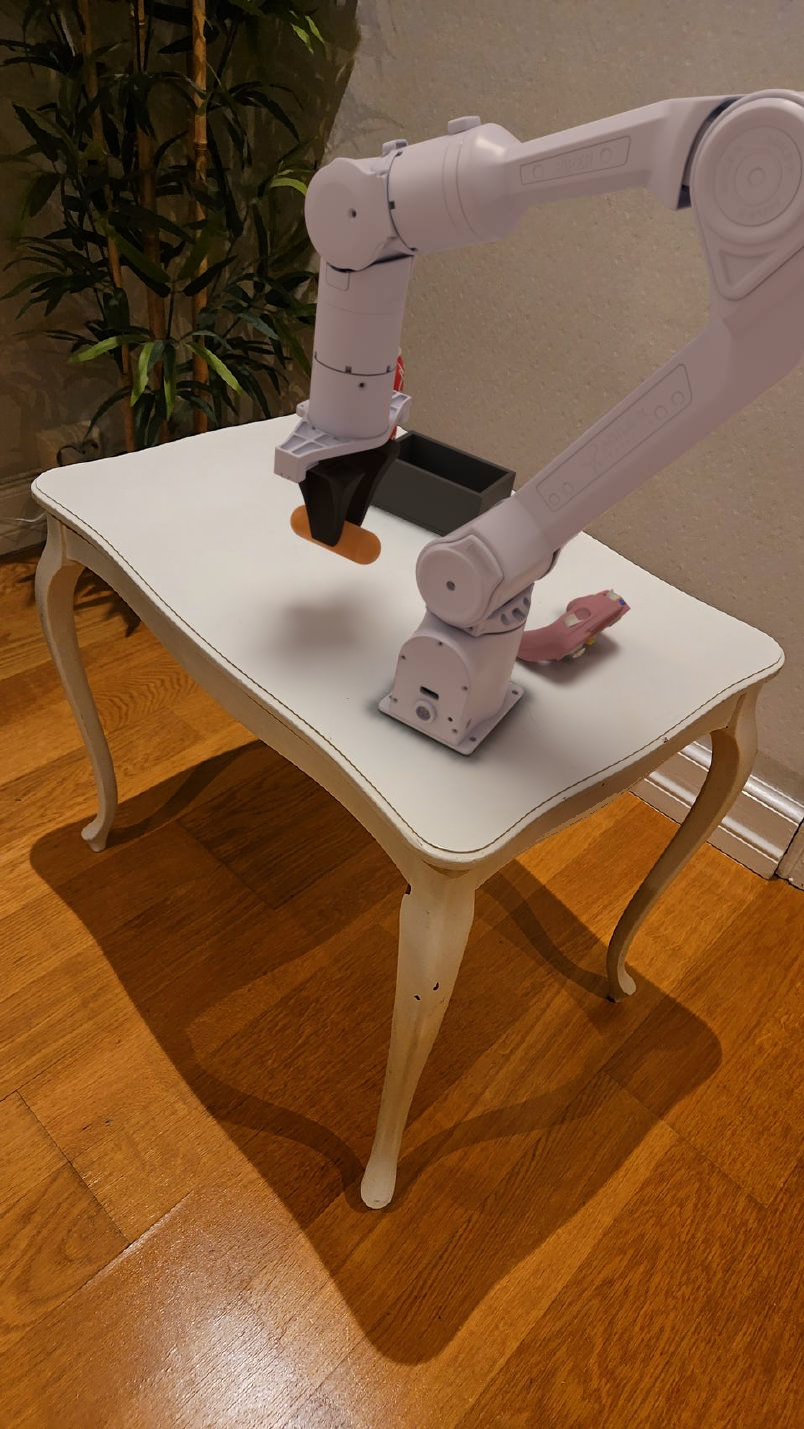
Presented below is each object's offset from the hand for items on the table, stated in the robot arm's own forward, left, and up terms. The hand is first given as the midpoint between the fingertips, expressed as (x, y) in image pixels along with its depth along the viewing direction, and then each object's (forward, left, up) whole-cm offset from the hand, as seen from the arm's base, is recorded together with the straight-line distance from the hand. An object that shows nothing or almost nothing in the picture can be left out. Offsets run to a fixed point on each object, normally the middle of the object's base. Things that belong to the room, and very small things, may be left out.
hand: (335, 533), depth 72 cm
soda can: (+27, +15, -9) cm, 32 cm away
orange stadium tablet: (0, 0, -1) cm, 1 cm away
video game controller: (+11, -17, -9) cm, 22 cm away
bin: (+23, +3, -8) cm, 24 cm away
